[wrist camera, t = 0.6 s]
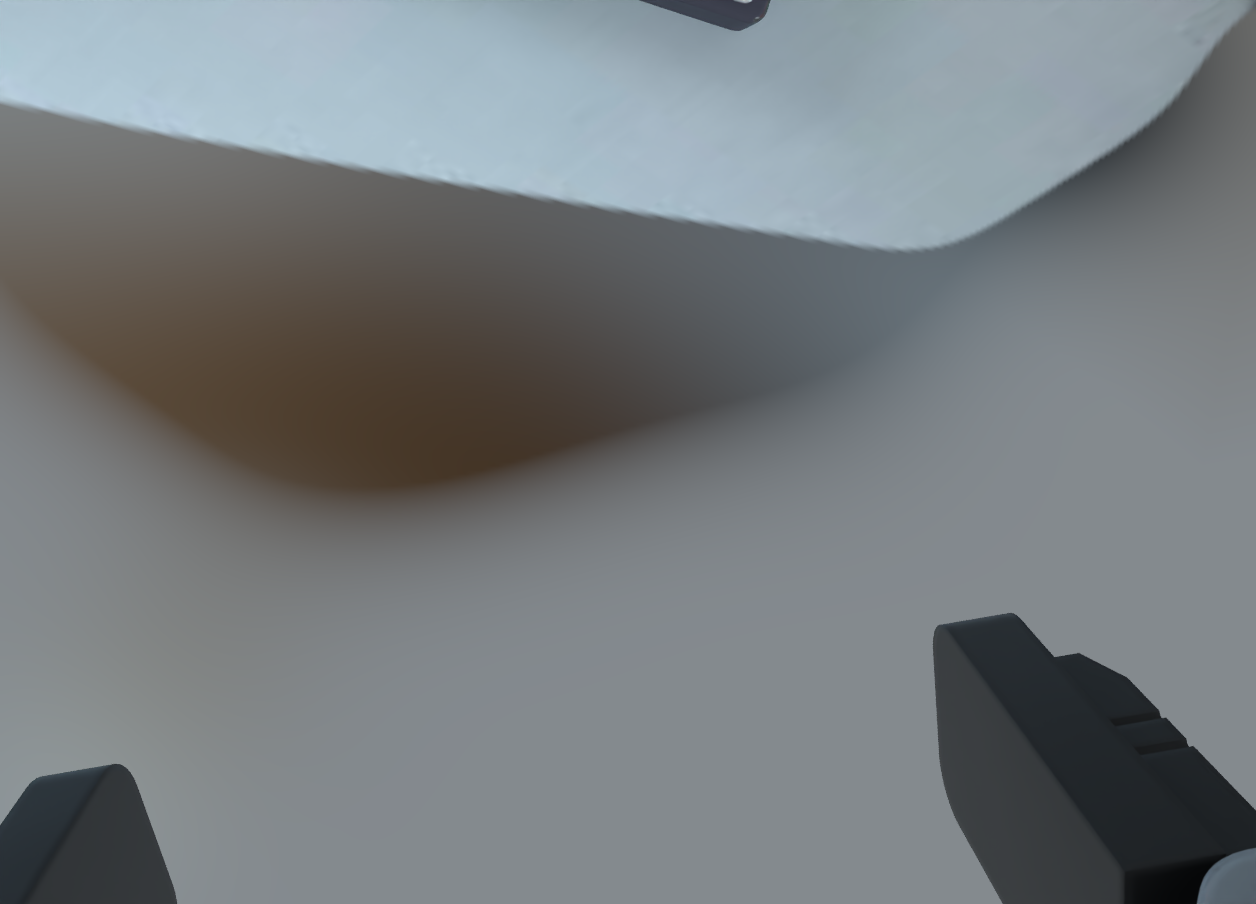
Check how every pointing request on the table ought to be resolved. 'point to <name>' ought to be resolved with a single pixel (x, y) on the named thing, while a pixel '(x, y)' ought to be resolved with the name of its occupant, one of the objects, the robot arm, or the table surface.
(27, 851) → the robot arm
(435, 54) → the table surface
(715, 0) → the calculator
